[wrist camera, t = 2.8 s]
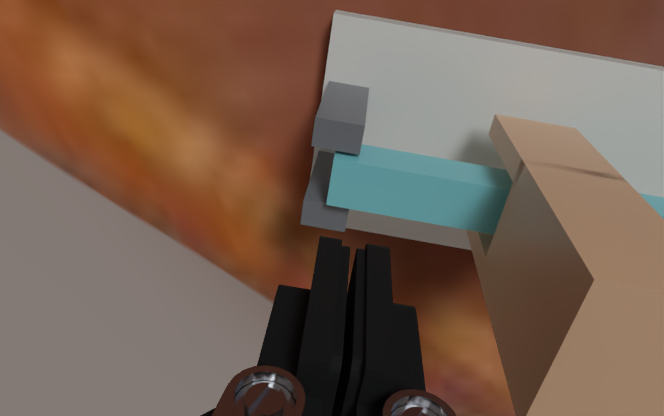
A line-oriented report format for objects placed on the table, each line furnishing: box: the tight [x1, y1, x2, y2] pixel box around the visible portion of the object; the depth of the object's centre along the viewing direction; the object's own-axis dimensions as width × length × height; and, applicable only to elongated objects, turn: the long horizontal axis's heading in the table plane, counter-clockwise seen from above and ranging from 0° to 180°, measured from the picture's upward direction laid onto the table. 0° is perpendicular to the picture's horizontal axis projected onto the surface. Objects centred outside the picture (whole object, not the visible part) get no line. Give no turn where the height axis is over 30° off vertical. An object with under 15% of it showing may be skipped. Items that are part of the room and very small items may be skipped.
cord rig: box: [300, 10, 664, 250], centre depth 19 cm, size 24×9×7 cm, turn 81°
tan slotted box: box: [466, 114, 664, 416], centre depth 15 cm, size 3×4×10 cm
